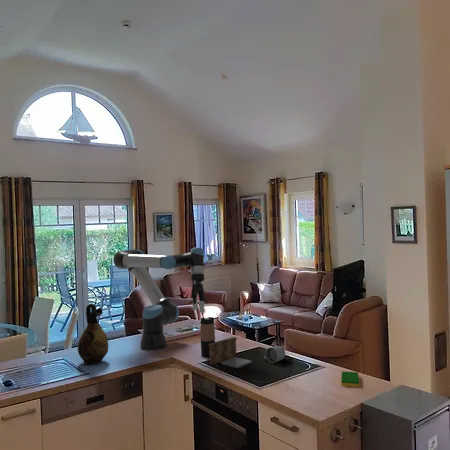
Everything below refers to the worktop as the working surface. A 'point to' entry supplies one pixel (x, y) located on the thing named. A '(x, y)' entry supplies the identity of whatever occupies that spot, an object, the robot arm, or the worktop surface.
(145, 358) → the worktop surface
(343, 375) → the dish sponge
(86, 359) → the ceramic jug
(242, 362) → the slate tile
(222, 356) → the walnut screen
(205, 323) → the travel mug
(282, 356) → the ceramic mug
